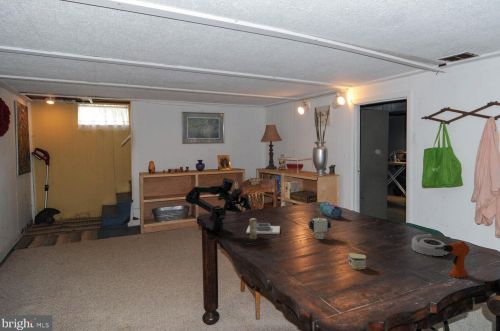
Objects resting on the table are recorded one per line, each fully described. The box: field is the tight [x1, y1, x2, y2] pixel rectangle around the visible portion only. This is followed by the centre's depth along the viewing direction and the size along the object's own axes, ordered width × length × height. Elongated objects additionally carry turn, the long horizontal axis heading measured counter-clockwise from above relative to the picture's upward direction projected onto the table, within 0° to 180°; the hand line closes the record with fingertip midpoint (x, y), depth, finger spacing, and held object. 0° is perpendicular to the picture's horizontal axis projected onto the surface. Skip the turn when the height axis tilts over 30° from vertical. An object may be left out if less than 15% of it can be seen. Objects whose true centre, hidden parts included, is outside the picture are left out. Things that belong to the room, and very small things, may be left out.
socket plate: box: [245, 222, 281, 235], centre depth 196 cm, size 20×14×4 cm
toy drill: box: [435, 241, 471, 278], centre depth 126 cm, size 5×18×14 cm, turn 109°
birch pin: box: [249, 217, 258, 240], centre depth 181 cm, size 4×4×11 cm
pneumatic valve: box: [307, 217, 332, 240], centre depth 179 cm, size 6×12×12 cm, turn 94°
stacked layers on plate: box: [348, 252, 367, 270], centre depth 137 cm, size 10×9×6 cm
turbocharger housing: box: [411, 233, 450, 257], centre depth 156 cm, size 17×7×15 cm
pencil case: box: [318, 201, 343, 220], centre depth 231 cm, size 21×9×10 cm, turn 13°
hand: (246, 210), depth 184 cm, fingers open, 9 cm apart
